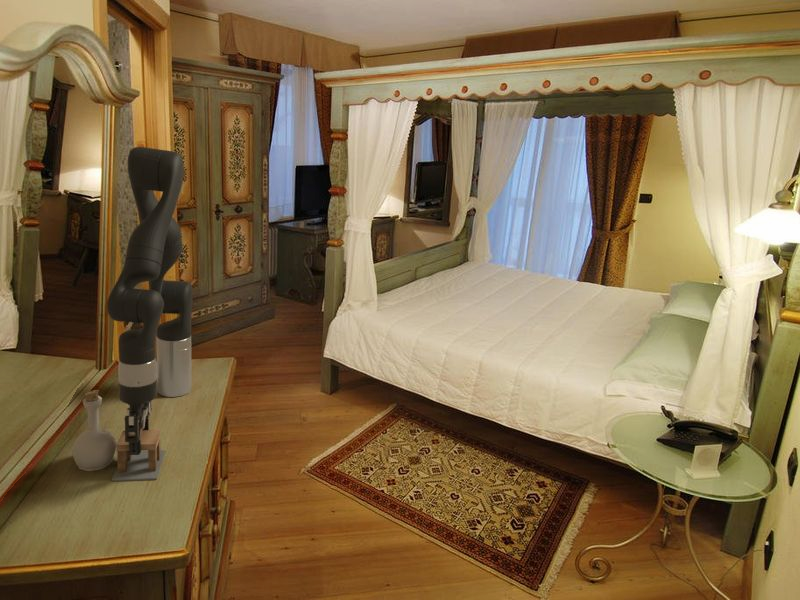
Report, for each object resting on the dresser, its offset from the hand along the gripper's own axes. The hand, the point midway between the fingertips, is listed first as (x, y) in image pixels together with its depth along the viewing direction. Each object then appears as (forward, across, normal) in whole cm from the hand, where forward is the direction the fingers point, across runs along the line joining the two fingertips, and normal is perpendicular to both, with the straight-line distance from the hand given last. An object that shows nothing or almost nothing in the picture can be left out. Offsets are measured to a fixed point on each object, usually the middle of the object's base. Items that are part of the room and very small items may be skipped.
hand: (139, 443), depth 121 cm
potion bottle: (+6, +2, +10) cm, 12 cm away
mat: (+6, 0, 0) cm, 6 cm away
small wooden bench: (+5, 0, 0) cm, 5 cm away
